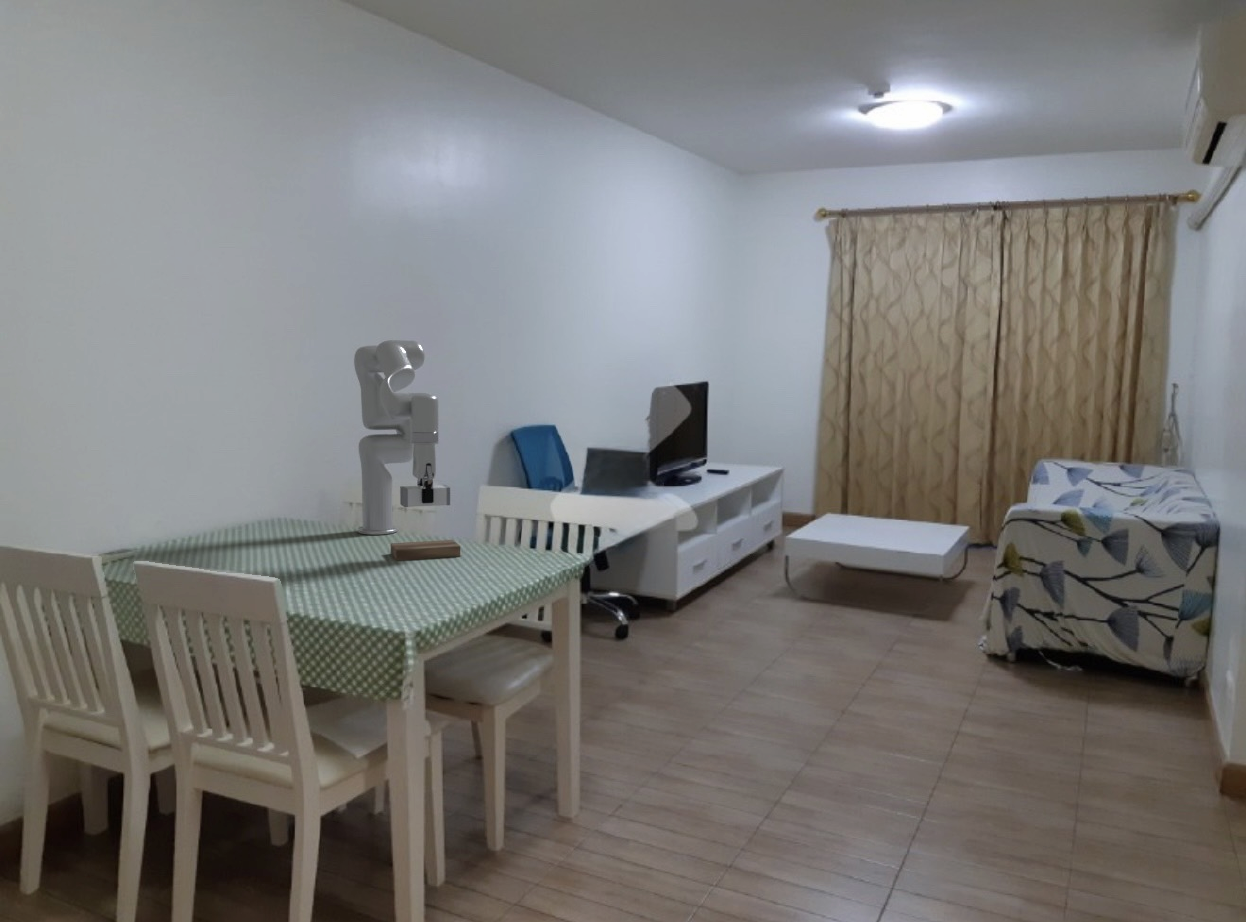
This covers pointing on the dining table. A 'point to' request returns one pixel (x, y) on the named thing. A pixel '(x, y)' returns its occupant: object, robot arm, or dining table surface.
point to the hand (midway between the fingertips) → (425, 500)
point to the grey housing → (413, 496)
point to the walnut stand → (425, 550)
